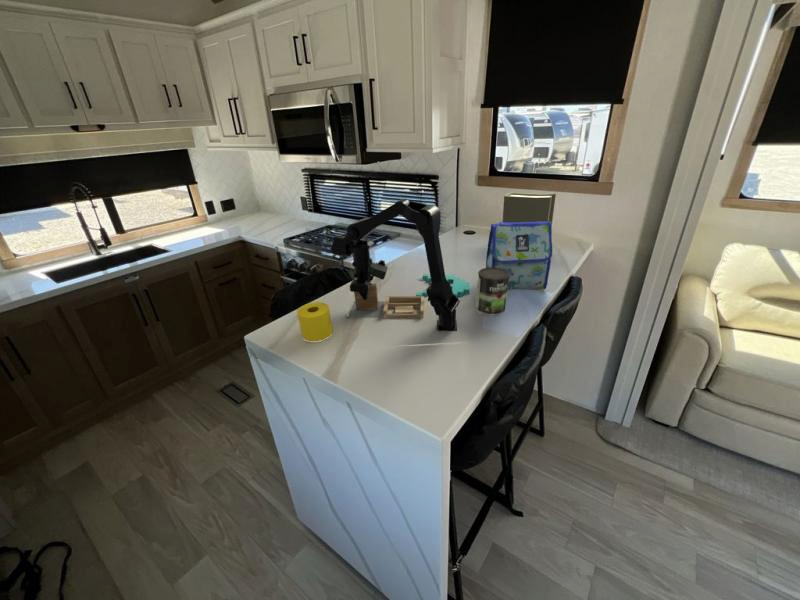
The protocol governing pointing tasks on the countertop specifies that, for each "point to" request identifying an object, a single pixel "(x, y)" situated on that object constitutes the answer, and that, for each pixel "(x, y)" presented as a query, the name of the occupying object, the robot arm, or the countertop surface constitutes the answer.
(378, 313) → the mat
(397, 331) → the countertop surface
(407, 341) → the countertop surface
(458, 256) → the countertop surface
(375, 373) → the countertop surface
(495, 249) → the lunch bag
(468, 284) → the alien figure
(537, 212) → the book
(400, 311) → the offcut upper
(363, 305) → the wooden block
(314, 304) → the yellow paper roll
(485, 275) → the coffee can
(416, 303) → the rack
